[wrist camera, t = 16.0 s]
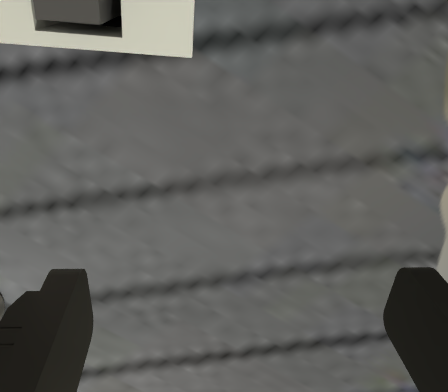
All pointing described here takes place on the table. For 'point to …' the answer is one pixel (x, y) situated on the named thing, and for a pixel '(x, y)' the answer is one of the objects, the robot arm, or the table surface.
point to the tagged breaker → (77, 10)
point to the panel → (107, 28)
